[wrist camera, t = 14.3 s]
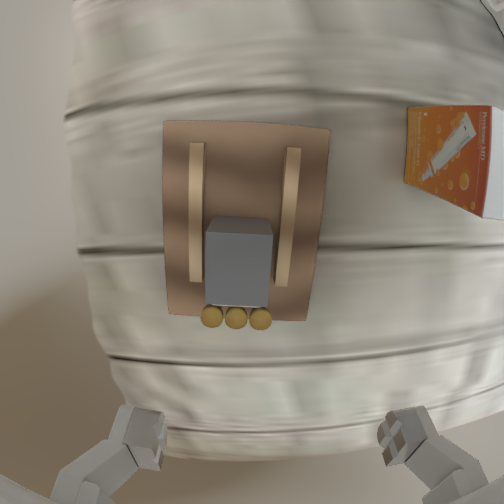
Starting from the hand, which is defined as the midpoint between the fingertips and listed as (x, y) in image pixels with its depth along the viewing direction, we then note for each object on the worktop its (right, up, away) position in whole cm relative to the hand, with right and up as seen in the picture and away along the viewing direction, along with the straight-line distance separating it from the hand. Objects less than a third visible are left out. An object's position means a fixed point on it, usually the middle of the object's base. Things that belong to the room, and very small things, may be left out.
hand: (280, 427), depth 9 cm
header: (-2, +9, +20) cm, 22 cm away
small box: (+18, +17, +17) cm, 30 cm away
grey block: (-2, +7, +20) cm, 21 cm away
